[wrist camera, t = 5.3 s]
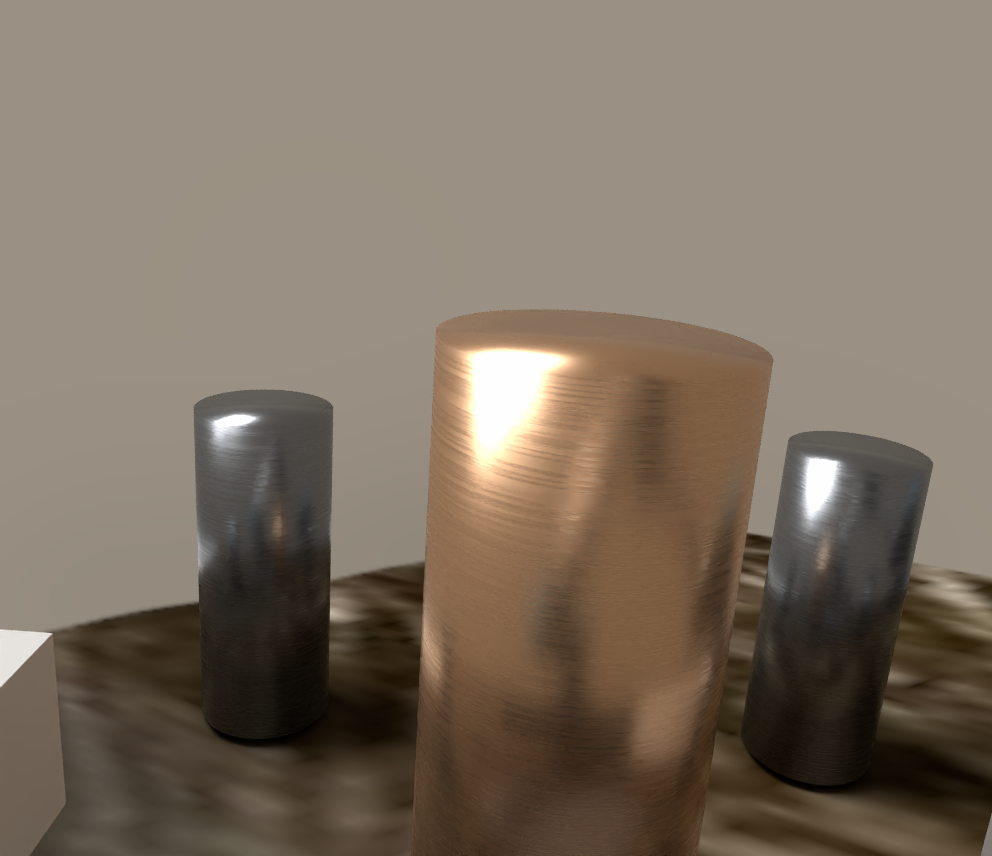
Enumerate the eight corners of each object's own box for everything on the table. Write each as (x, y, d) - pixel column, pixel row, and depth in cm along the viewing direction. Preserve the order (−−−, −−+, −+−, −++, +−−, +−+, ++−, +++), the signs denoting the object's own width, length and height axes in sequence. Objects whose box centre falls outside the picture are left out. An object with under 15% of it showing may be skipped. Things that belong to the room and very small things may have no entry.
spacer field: (1049, 730, 26) (1125, 452, 24) (1468, 1211, 14) (1700, 757, 12) (28, 649, 26) (4, 369, 24) (-371, 1049, 15) (-493, 584, 12)
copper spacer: (648, 942, 18) (735, 321, 15) (682, 1183, 14) (815, 394, 10) (418, 923, 18) (450, 301, 15) (383, 1157, 14) (416, 364, 11)
